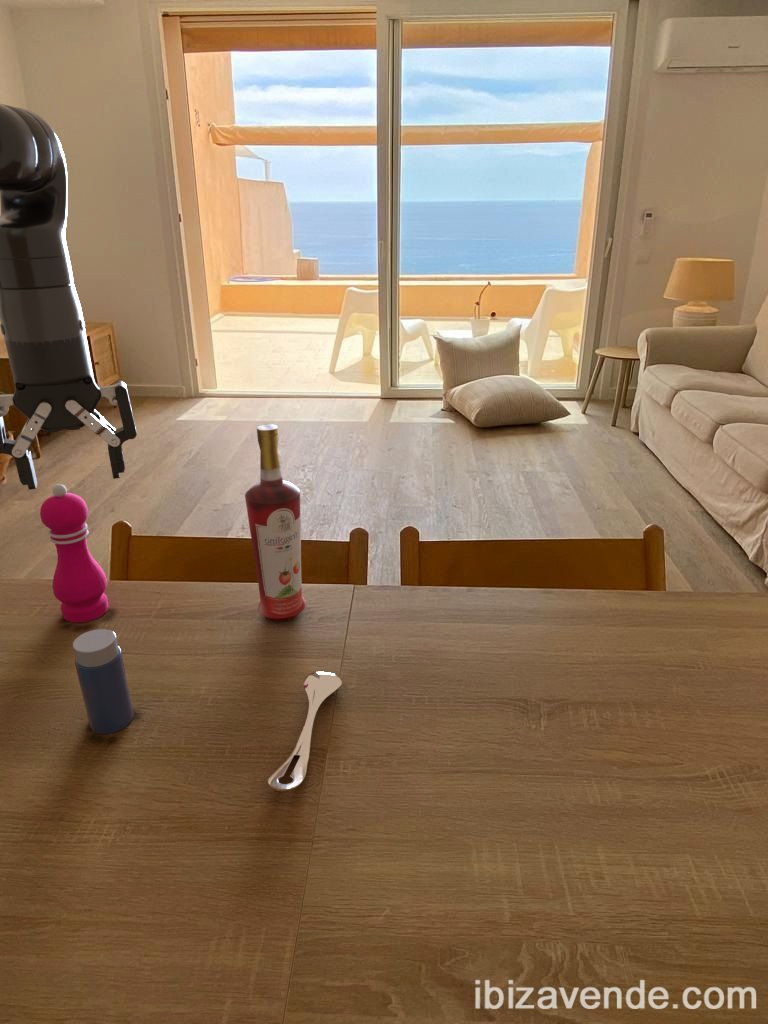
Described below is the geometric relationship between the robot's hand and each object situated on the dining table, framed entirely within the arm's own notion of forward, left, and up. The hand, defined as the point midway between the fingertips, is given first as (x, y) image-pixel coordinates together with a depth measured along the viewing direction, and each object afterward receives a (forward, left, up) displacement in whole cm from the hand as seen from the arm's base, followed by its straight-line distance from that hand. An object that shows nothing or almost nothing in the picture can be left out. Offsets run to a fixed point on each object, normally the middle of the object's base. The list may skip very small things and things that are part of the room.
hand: (75, 481), depth 77 cm
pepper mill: (-10, +15, -27) cm, 32 cm away
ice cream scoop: (+26, -10, -27) cm, 38 cm away
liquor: (+19, +15, -27) cm, 36 cm away
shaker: (+3, -8, -27) cm, 28 cm away
